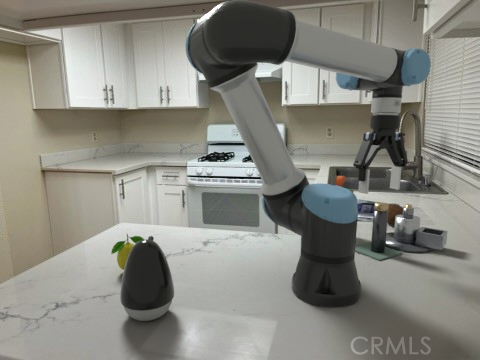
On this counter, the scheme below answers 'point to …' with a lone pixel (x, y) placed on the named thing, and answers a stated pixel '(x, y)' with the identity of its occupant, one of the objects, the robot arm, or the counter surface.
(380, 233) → the gold capped bottle
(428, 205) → the counter surface
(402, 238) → the grey cylinder with box
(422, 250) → the base
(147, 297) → the black egg-shaped pod
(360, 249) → the mat
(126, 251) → the lemon
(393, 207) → the potato
